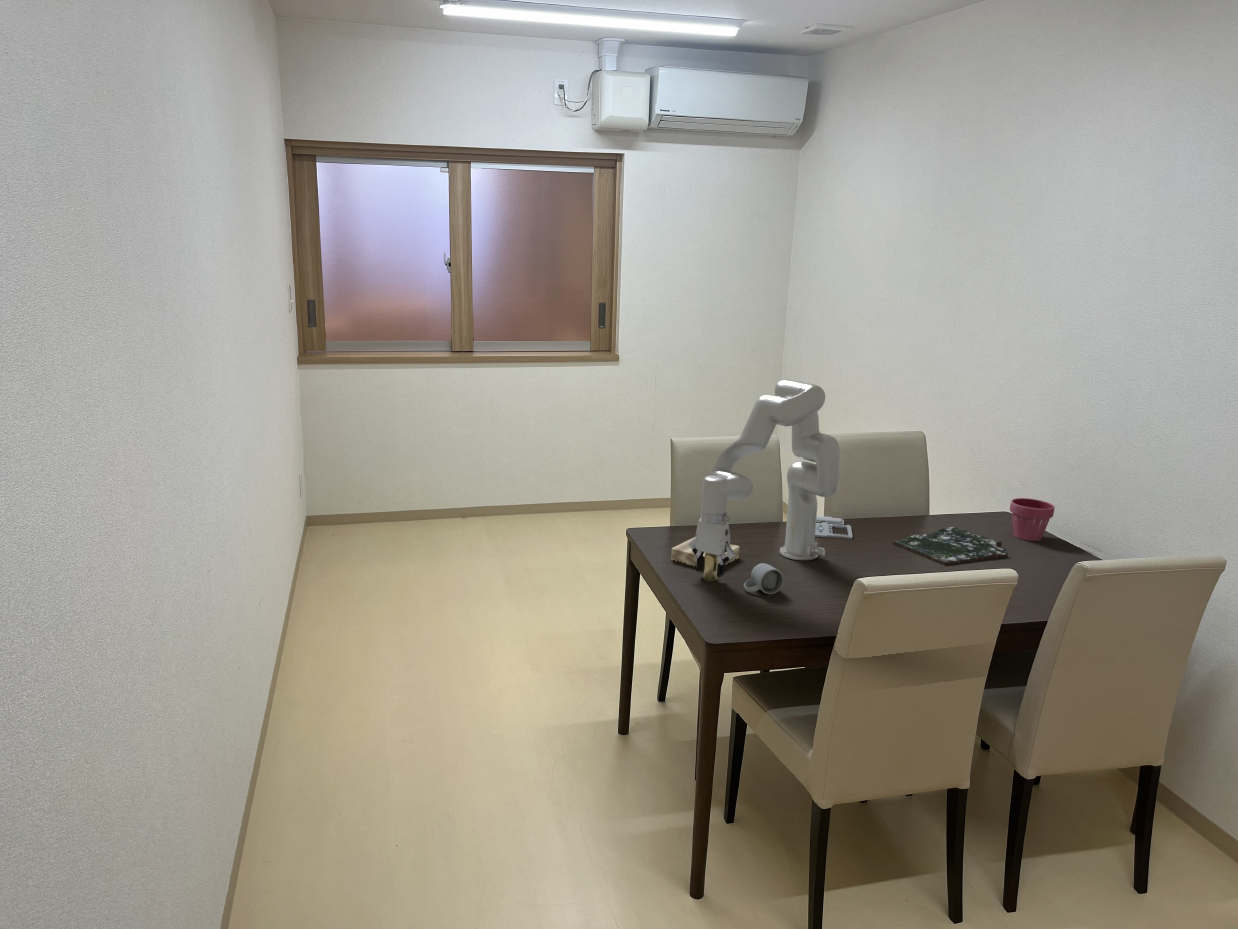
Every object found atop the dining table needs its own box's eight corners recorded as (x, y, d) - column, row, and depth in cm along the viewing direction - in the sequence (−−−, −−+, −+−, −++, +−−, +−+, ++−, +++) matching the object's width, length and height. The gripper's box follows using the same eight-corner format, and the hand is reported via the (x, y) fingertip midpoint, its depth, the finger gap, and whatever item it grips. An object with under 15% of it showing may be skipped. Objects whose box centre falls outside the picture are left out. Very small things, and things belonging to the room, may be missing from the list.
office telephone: (795, 511, 326) (849, 515, 323) (795, 518, 327) (849, 522, 323) (795, 529, 304) (853, 534, 300) (794, 536, 305) (852, 541, 301)
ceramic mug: (770, 582, 261) (771, 559, 259) (783, 593, 253) (784, 568, 251) (738, 586, 258) (739, 562, 256) (751, 597, 250) (752, 572, 248)
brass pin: (718, 578, 263) (720, 554, 261) (712, 582, 260) (713, 557, 258) (707, 575, 265) (709, 551, 263) (701, 579, 262) (702, 554, 260)
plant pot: (1037, 531, 316) (1042, 497, 313) (1057, 544, 303) (1062, 509, 299) (999, 530, 316) (1003, 497, 313) (1017, 543, 302) (1022, 508, 299)
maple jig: (738, 557, 281) (739, 546, 280) (714, 571, 269) (714, 559, 268) (696, 547, 290) (697, 535, 289) (671, 560, 278) (671, 548, 277)
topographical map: (892, 545, 298) (893, 537, 297) (957, 533, 314) (958, 525, 313) (952, 570, 276) (953, 561, 276) (1019, 555, 292) (1020, 547, 291)
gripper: (744, 519, 256) (741, 575, 260) (695, 508, 266) (692, 562, 270) (732, 525, 250) (729, 583, 254) (682, 514, 260) (679, 569, 264)
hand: (710, 572), depth 262 cm, fingers open, 6 cm apart
